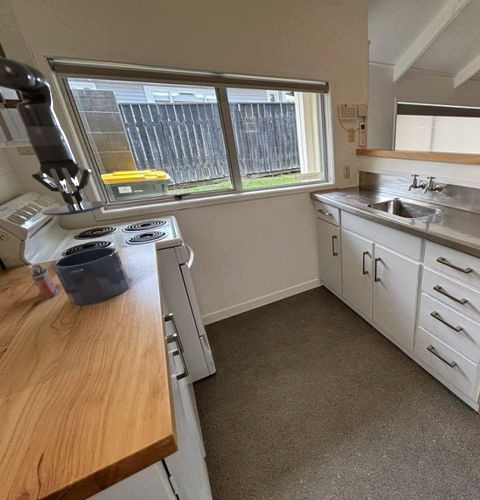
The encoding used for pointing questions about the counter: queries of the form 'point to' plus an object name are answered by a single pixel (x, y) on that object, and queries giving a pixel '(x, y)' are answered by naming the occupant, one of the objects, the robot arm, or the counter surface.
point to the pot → (92, 276)
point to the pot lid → (75, 207)
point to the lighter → (44, 282)
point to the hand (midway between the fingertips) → (75, 203)
